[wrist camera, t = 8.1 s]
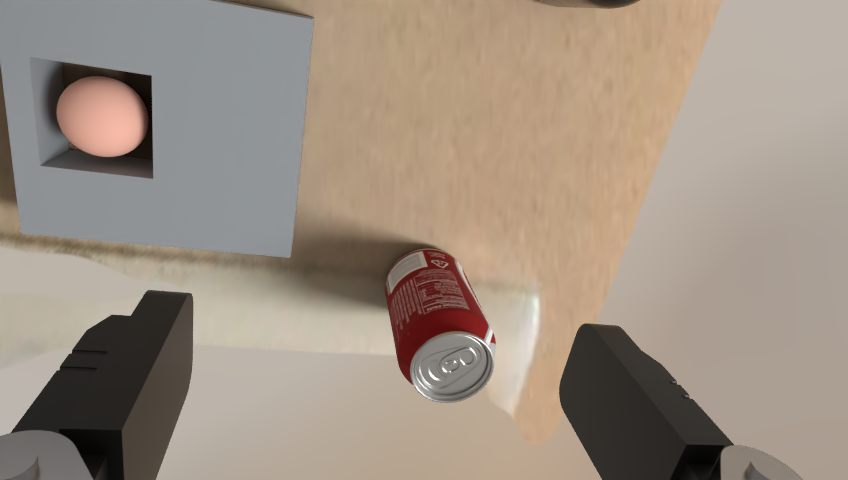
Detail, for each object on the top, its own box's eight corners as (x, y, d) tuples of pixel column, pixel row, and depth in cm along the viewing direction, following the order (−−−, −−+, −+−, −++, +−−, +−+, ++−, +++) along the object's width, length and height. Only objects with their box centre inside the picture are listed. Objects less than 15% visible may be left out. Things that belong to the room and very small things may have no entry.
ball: (93, 86, 30) (165, 83, 34) (32, 69, 31) (109, 68, 36) (98, 171, 32) (166, 158, 36) (41, 151, 33) (113, 141, 38)
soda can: (370, 266, 44) (382, 354, 33) (444, 231, 44) (481, 307, 33) (404, 327, 47) (426, 425, 36) (474, 294, 46) (517, 383, 36)
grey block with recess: (26, -37, 32) (-13, -41, 28) (314, 17, 36) (312, 19, 32) (50, 211, 38) (20, 233, 34) (294, 235, 42) (290, 257, 38)
